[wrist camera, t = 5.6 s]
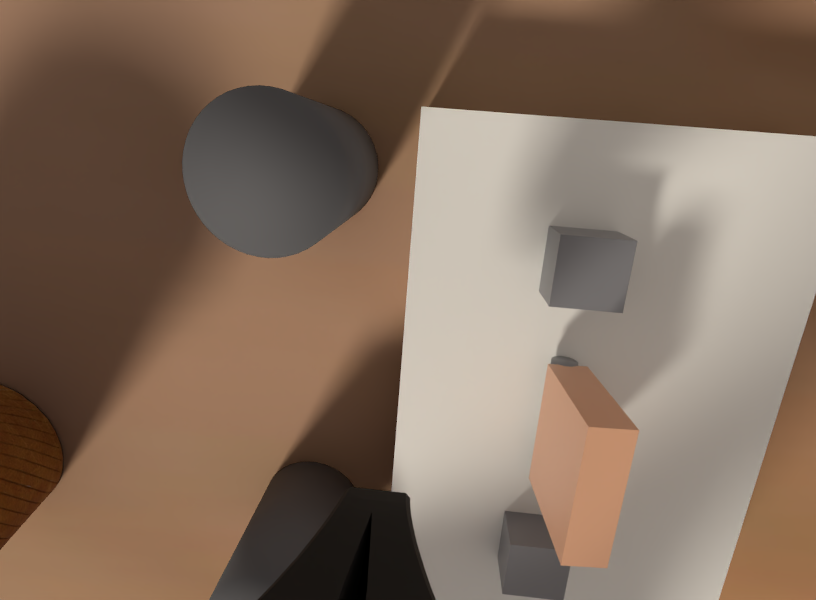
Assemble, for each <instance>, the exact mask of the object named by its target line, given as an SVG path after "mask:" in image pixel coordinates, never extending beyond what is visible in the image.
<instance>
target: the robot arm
mask: <svg viewBox="0 0 816 600" xmlns="http://www.w3.org/2000/svg"><path fill="white" fill-rule="evenodd" d="M258 600H436V599H435V596H434V593H433V591H432V588H431V585H430V583H429V580H428V577H427V574H426V571H425V568H424V565H423V561H422V558H421V555H420V552H419V548H418V544H417V541H416V537H415V532H414V528H413V523H412V517H411V508H410V497H409V496H408V495H407V494H406V493H401V492H392V491H382V490H373V489H364V488H354V487H350V488H348V489H347V490H345V491H344V493H343V495H342V497H341V498H340V500H339V501H338V503H337V505H336V506H335V508H334V509H333V511H332V512H331V513H330V515H329V516H328V518H327V519H326V520H325V522H324V523H323V525H322V526H321V527H320V529H319V530H318V531H317V532H316V534H315V535H314V536H313V538H312V539H311V540H310V541H309V543H308V544H307V545H306V546H305V548H304V549H303V550H302V551H301V553H300V554H299V555H298V556H297V557H296V559H295V560H294V561H293V562H292V563H291V564H290V565H289V566H288V567H287V569H286V570H285V571H284V572H283V573H282V574H281V575H280V576H279V577H278V579H277V580H276V581H275V582H274V583H273V584H272V585H271V586H270V587H269V588H268V589H267V590H266V591H265V592H264V593H263V594H262V596H261V597H260V598H259V599H258Z"/></svg>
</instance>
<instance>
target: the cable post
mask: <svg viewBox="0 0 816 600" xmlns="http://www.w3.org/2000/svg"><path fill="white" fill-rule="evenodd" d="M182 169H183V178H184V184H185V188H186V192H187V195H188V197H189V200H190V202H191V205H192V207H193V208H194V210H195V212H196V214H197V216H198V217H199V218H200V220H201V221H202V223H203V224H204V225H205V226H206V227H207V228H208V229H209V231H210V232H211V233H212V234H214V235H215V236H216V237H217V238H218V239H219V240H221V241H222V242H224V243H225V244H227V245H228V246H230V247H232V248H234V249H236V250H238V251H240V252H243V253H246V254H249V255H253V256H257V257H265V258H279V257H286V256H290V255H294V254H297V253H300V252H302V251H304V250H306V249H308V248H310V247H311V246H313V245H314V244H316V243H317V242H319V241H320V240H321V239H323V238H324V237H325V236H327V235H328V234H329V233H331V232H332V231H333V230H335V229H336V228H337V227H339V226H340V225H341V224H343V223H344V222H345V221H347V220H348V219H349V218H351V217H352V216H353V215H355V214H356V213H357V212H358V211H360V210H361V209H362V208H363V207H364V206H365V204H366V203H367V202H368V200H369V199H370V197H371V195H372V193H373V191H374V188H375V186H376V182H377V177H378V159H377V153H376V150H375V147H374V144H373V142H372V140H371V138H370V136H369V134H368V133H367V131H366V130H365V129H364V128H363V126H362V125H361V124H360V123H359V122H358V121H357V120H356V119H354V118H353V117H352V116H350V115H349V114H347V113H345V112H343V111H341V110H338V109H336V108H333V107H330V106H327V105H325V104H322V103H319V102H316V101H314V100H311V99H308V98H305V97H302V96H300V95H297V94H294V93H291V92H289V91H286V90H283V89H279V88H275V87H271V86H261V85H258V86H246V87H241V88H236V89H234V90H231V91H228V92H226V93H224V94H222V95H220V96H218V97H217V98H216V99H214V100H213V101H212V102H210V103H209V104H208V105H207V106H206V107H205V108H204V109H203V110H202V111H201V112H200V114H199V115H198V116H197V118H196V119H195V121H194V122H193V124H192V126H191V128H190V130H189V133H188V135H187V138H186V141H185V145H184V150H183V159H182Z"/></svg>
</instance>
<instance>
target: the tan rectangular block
mask: <svg viewBox="0 0 816 600" xmlns="http://www.w3.org/2000/svg"><path fill="white" fill-rule="evenodd" d="M638 434H639V429H638V428H637V427H636V426H635V424H634V423H633V422H632V421H631V419H630V418H629V417H628V416H627V414H626V413H625V412H624V411H623V410H622V408H621V407H620V406H619V405H618V403H617V402H616V401H615V400H614V398H613V397H612V396H611V395H610V394H609V392H608V391H607V390H606V389H605V387H604V386H603V385H602V384H601V383H600V381H599V380H598V379H597V378H596V376H595V375H594V374H593V373H592V371H591V370H590V369H589V368H588V367H587V366H578V362H577V361H576V360H574V359H572V358H569V357H565V356H554V357H552V358H551V364H548V366H547V372H546V378H545V384H544V390H543V396H542V402H541V408H540V414H539V420H538V426H537V432H536V438H535V444H534V450H533V456H532V462H531V468H530V474H529V480H530V482H531V485H532V488H533V491H534V493H535V496H536V499H537V502H538V504H539V507H540V510H541V513H542V515H543V518H544V521H545V523H546V526H547V529H548V532H549V534H550V537H551V540H552V543H553V545H554V548H555V551H556V554H557V556H558V559H559V562H560V565H561V566H578V567H595V568H608V563H609V559H610V555H611V550H612V546H613V542H614V537H615V533H616V529H617V525H618V520H619V516H620V512H621V507H622V503H623V499H624V494H625V490H626V486H627V482H628V477H629V473H630V469H631V464H632V460H633V456H634V451H635V447H636V443H637V439H638Z"/></svg>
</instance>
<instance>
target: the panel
mask: <svg viewBox="0 0 816 600" xmlns="http://www.w3.org/2000/svg"><path fill="white" fill-rule="evenodd" d="M815 294H816V136H804V135H791V134H778V133H765V132H752V131H738V130H725V129H712V128H699V127H685V126H672V125H659V124H646V123H633V122H619V121H606V120H593V119H580V118H566V117H553V116H540V115H527V114H514V113H500V112H487V111H474V110H461V109H448V108H434V107H421V119H420V132H419V144H418V157H417V170H416V183H415V196H414V209H413V221H412V234H411V247H410V260H409V273H408V286H407V298H406V311H405V324H404V337H403V350H402V363H401V375H400V388H399V401H398V414H397V427H396V440H395V452H394V465H393V478H392V492H401V493H406V494H407V495H408V496H409V497H410V508H411V517H412V523H413V528H414V532H415V537H416V541H417V544H418V548H419V552H420V555H421V558H422V561H423V565H424V568H425V571H426V574H427V577H428V580H429V583H430V585H431V588H432V591H433V593H434V596H435V599H436V600H719V597H720V593H721V590H722V587H723V584H724V581H725V578H726V575H727V571H728V568H729V565H730V562H731V559H732V556H733V552H734V549H735V546H736V543H737V540H738V537H739V534H740V530H741V527H742V524H743V521H744V518H745V515H746V511H747V508H748V505H749V502H750V499H751V496H752V493H753V489H754V486H755V483H756V480H757V477H758V474H759V470H760V467H761V464H762V461H763V458H764V455H765V452H766V448H767V445H768V442H769V439H770V436H771V433H772V429H773V426H774V423H775V420H776V417H777V414H778V411H779V407H780V404H781V401H782V398H783V395H784V392H785V388H786V385H787V382H788V379H789V376H790V373H791V370H792V366H793V363H794V360H795V357H796V354H797V351H798V348H799V344H800V341H801V338H802V335H803V332H804V329H805V325H806V322H807V319H808V316H809V313H810V310H811V307H812V303H813V300H814V297H815ZM554 356H565V357H569V358H572V359H574V360H576V361H577V362H578V366H587V367H588V368H589V369H590V370H591V371H592V373H593V374H594V375H595V376H596V378H597V379H598V380H599V381H600V383H601V384H602V385H603V386H604V387H605V389H606V390H607V391H608V392H609V394H610V395H611V396H612V397H613V398H614V400H615V401H616V402H617V403H618V405H619V406H620V407H621V408H622V410H623V411H624V412H625V413H626V414H627V416H628V417H629V418H630V419H631V421H632V422H633V423H634V424H635V426H636V427H637V428H638V429H639V434H638V439H637V443H636V447H635V451H634V456H633V460H632V464H631V469H630V473H629V477H628V482H627V486H626V490H625V494H624V499H623V503H622V507H621V512H620V516H619V520H618V525H617V529H616V533H615V537H614V542H613V546H612V550H611V555H610V559H609V563H608V568H595V567H578V566H561V565H560V562H559V559H558V556H557V554H556V551H555V548H554V545H553V543H552V540H551V537H550V534H549V532H548V529H547V526H546V523H545V521H544V518H543V515H542V513H541V510H540V507H539V504H538V502H537V499H536V496H535V493H534V491H533V488H532V485H531V482H530V480H529V474H530V468H531V462H532V456H533V450H534V444H535V438H536V432H537V426H538V420H539V414H540V408H541V402H542V396H543V390H544V384H545V378H546V372H547V366H548V364H551V358H552V357H554Z"/></svg>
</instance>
